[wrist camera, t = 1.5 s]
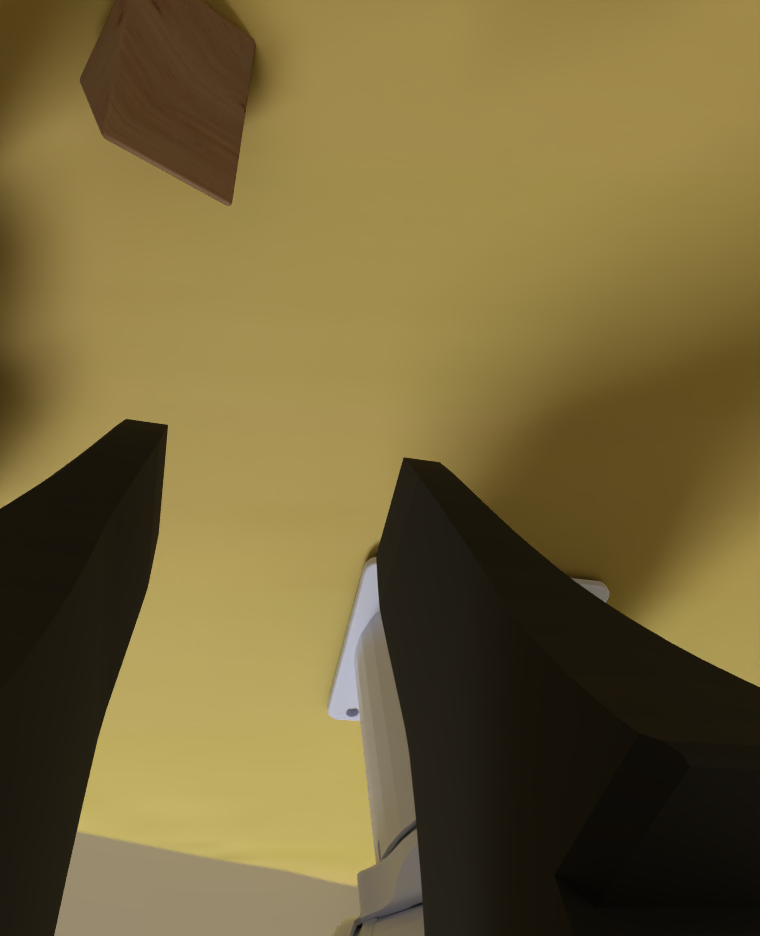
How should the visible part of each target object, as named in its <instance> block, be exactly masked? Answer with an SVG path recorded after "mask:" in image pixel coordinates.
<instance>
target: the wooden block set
mask: <svg viewBox="0 0 760 936" xmlns="http://www.w3.org/2000/svg"><path fill="white" fill-rule="evenodd" d="M254 51H255V43H254V41H253V40H252V39H251V38H250V37H249V36H247V35H246V34H245V33H243V32H242V31H241V30H239V29H238V28H237V27H236V26H234V25H233V24H232V23H230V22H229V21H228V20H226V19H225V18H224V17H222V16H221V15H220V14H219V13H217V12H216V11H215V10H213V9H212V8H211V7H209V6H208V5H207V4H205V3H204V2H203V1H201V0H116V2H115V4H114V6H113V8H112V10H111V12H110V15H109V17H108V19H107V21H106V23H105V25H104V28H103V30H102V32H101V34H100V36H99V38H98V40H97V43H96V45H95V47H94V49H93V51H92V53H91V56H90V58H89V60H88V62H87V64H86V66H85V68H84V71H83V73H82V75H81V77H80V83H81V85H82V88H83V90H84V93H85V95H86V97H87V100H88V102H89V105H90V107H91V109H92V112H93V114H94V117H95V119H96V122H97V124H98V126H99V129H100V131H101V134H102V135H103V137H104V138H105V139H107V140H108V141H110V142H112V143H114V144H116V145H118V146H119V147H121V148H123V149H125V150H127V151H128V152H130V153H132V154H134V155H136V156H137V157H139V158H141V159H143V160H145V161H147V162H148V163H150V164H152V165H154V166H156V167H157V168H159V169H161V170H163V171H165V172H166V173H168V174H170V175H172V176H174V177H176V178H177V179H179V180H181V181H183V182H185V183H186V184H188V185H190V186H192V187H194V188H195V189H197V190H199V191H201V192H203V193H205V194H206V195H208V196H210V197H212V198H214V199H215V200H217V201H219V202H221V203H223V204H224V205H226V206H229V205H231V204H232V199H233V193H234V186H235V179H236V172H237V166H238V159H239V152H240V145H241V139H242V132H243V125H244V118H245V112H246V105H247V98H248V91H249V85H250V78H251V71H252V64H253V58H254Z"/></svg>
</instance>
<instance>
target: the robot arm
mask: <svg viewBox="0 0 760 936" xmlns="http://www.w3.org/2000/svg"><path fill="white" fill-rule="evenodd" d="M167 430H168V425H165V424H158V423H150V422H143V421H136V420H129V419H126V420H124V421H123V422H121V423H120V424H118V425H117V426H116V427H114V428H113V429H112V430H111V431H109V432H108V433H107V434H106V435H104V436H103V437H102V438H101V439H99V440H98V441H97V442H96V443H95V444H93V445H92V446H91V447H89V448H88V449H87V450H86V451H84V452H83V453H82V454H81V455H79V456H78V457H77V458H75V459H74V460H72V461H71V462H70V463H68V464H67V465H66V466H64V467H63V468H62V469H60V470H59V471H57V472H56V473H55V474H53V475H52V476H51V477H49V478H48V479H46V480H45V481H43V482H42V483H40V484H39V485H37V486H36V487H34V488H33V489H31V490H30V491H28V492H26V493H25V494H23V495H22V496H20V497H19V498H17V499H15V500H14V501H12V502H11V503H9V504H8V505H6V506H4V507H2V508H1V509H0V936H54V933H55V929H56V924H57V919H58V915H59V910H60V905H61V901H62V896H63V891H64V886H65V882H66V877H67V873H68V868H69V864H70V859H71V854H72V850H73V845H74V841H75V837H76V832H77V828H78V823H79V818H80V814H81V809H82V805H83V801H84V796H85V792H86V788H87V783H88V779H89V774H90V770H91V766H92V761H93V757H94V753H95V748H96V744H97V740H98V736H99V733H100V729H101V726H102V722H103V719H104V716H105V712H106V709H107V706H108V703H109V700H110V697H111V694H112V691H113V688H114V686H115V683H116V680H117V677H118V674H119V671H120V668H121V665H122V662H123V659H124V656H125V653H126V650H127V648H128V645H129V642H130V639H131V636H132V633H133V630H134V627H135V624H136V621H137V618H138V615H139V612H140V609H141V606H142V603H143V600H144V597H145V594H146V591H147V588H148V584H149V579H150V574H151V569H152V564H153V559H154V554H155V549H156V544H157V539H158V534H159V523H160V511H161V500H162V488H163V477H164V465H165V453H166V442H167ZM609 594H610V593H609V590H608V588H607V587H606V585H605V584H604V583H603V582H600V581H593V580H585V579H576V578H570V577H569V576H567V575H566V574H565V573H563V572H562V571H561V570H560V569H558V568H557V567H556V566H555V565H553V564H552V563H551V562H550V561H549V560H547V559H546V558H545V557H544V556H542V555H541V554H540V553H539V552H538V551H536V550H535V549H534V548H533V547H532V546H530V545H529V544H528V543H527V542H526V541H525V540H524V539H522V538H521V537H520V536H519V535H518V534H517V533H516V532H515V531H513V530H512V529H511V528H510V527H509V526H508V525H507V524H506V523H505V522H504V521H503V520H501V519H500V518H499V517H498V516H497V515H496V514H495V513H494V512H493V511H492V510H491V509H490V508H489V507H488V506H487V505H486V504H485V503H483V502H482V501H481V500H480V499H479V498H478V497H477V496H476V495H475V494H474V493H473V492H472V491H471V490H470V489H469V488H468V487H467V486H466V485H465V484H464V483H463V482H462V481H460V480H459V479H458V478H457V477H456V476H455V475H454V474H453V473H452V472H451V471H450V470H448V469H447V468H446V467H445V466H443V465H442V464H441V463H440V462H433V461H426V460H418V459H411V458H403V462H402V465H401V469H400V473H399V476H398V480H397V483H396V487H395V491H394V494H393V498H392V501H391V505H390V509H389V512H388V516H387V519H386V523H385V527H384V530H383V534H382V537H381V541H380V545H379V548H378V552H377V555H376V557H373V558H371V559H369V560H368V561H367V562H366V563H365V565H364V567H363V571H362V575H361V579H360V582H359V586H358V590H357V594H356V597H355V601H354V605H353V609H352V613H351V616H350V620H349V624H348V628H347V632H346V635H345V639H344V643H343V647H342V651H341V654H340V658H339V662H338V666H337V670H336V673H335V677H334V681H333V685H332V688H331V692H330V696H329V700H328V704H327V708H328V714H329V716H330V717H332V718H334V719H339V720H355V721H360V723H361V732H362V741H363V750H364V759H365V768H366V777H367V786H368V795H369V804H370V814H371V823H372V832H373V841H374V850H375V859H376V865H374V866H372V867H370V868H367V869H365V870H362V871H360V872H359V873H358V874H357V881H358V892H359V905H360V916H357V917H353V918H350V919H346V920H345V921H343V922H342V923H341V924H340V925H339V926H338V927H337V928H336V930H335V932H334V934H333V936H760V687H758V686H756V685H754V684H751V683H749V682H747V681H745V680H743V679H741V678H739V677H737V676H735V675H733V674H731V673H729V672H727V671H725V670H723V669H720V668H718V667H716V666H714V665H712V664H710V663H708V662H706V661H704V660H702V659H700V658H698V657H697V656H695V655H693V654H691V653H689V652H687V651H685V650H683V649H682V648H680V647H678V646H676V645H674V644H672V643H670V642H669V641H667V640H665V639H664V638H662V637H660V636H659V635H657V634H655V633H653V632H652V631H650V630H648V629H647V628H645V627H643V626H642V625H640V624H638V623H636V622H635V621H633V620H631V619H630V618H628V617H627V616H625V615H624V614H622V613H620V612H619V611H617V610H616V609H614V608H613V607H611V606H610V605H608V604H607V603H606V602H607V600H608V598H609ZM350 708H354V709H350Z"/></svg>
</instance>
